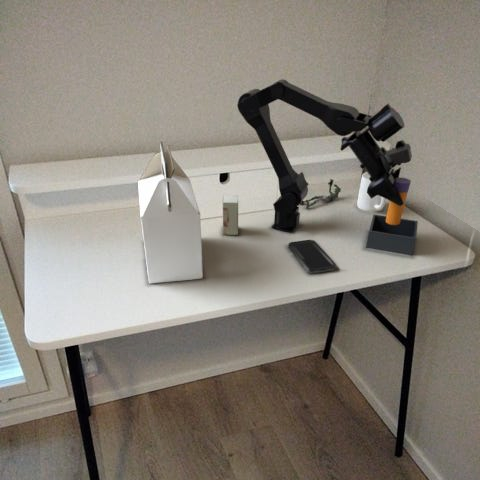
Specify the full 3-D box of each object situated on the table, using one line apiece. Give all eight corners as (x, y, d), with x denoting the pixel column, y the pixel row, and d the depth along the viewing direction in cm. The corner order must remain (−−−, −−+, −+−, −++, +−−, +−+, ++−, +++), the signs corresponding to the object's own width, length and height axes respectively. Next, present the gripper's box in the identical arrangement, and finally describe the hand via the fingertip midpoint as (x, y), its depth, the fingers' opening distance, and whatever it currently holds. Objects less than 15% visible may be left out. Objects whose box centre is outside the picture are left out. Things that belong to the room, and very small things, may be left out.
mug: (392, 217, 145) (400, 185, 138) (368, 219, 143) (374, 187, 137) (375, 201, 154) (382, 170, 148) (352, 203, 152) (357, 172, 146)
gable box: (203, 279, 115) (198, 167, 98) (148, 284, 113) (134, 170, 95) (192, 237, 132) (187, 135, 115) (145, 241, 130) (132, 138, 113)
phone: (313, 239, 130) (337, 266, 119) (312, 242, 131) (336, 269, 119) (286, 242, 128) (308, 270, 117) (286, 246, 129) (308, 274, 117)
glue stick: (383, 222, 124) (392, 181, 117) (387, 217, 127) (397, 176, 120) (397, 226, 123) (408, 184, 116) (401, 221, 126) (412, 179, 119)
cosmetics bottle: (223, 226, 137) (223, 194, 131) (238, 227, 137) (238, 194, 131) (222, 235, 133) (222, 201, 127) (237, 235, 133) (238, 202, 127)
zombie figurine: (300, 183, 147) (337, 176, 154) (298, 204, 151) (334, 196, 158) (311, 189, 144) (348, 181, 150) (308, 210, 148) (345, 201, 154)
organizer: (365, 249, 128) (369, 231, 125) (369, 231, 137) (373, 214, 133) (411, 257, 125) (416, 238, 122) (412, 238, 134) (417, 220, 130)
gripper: (391, 143, 105) (428, 198, 109) (401, 122, 119) (434, 172, 123) (351, 172, 112) (387, 222, 116) (365, 149, 126) (397, 195, 130)
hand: (403, 201), depth 121 cm, fingers closed on glue stick, 4 cm apart
